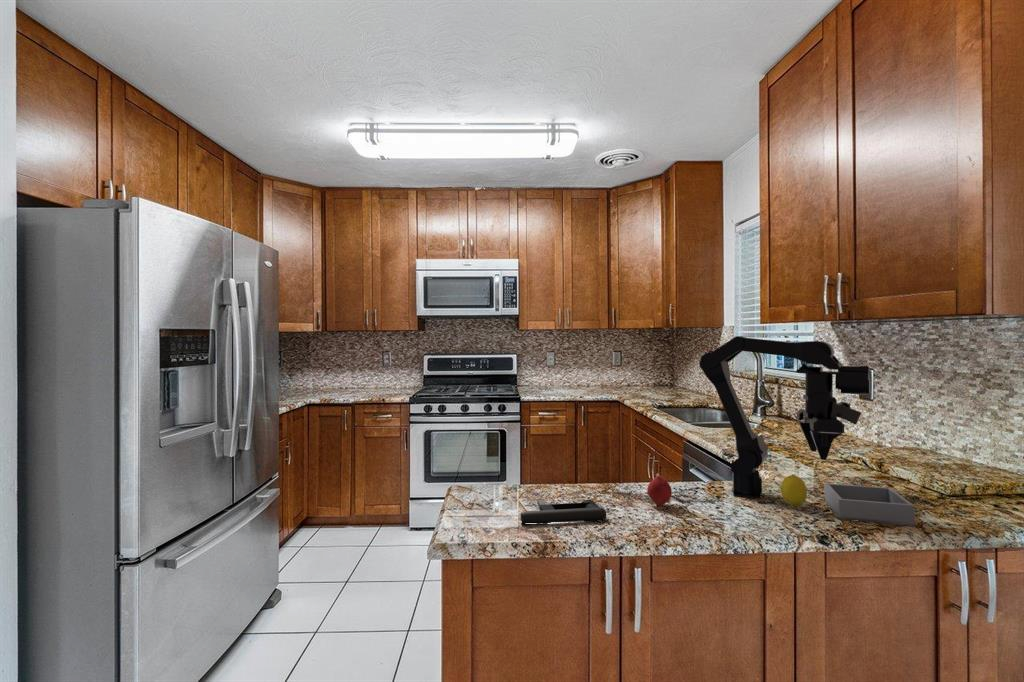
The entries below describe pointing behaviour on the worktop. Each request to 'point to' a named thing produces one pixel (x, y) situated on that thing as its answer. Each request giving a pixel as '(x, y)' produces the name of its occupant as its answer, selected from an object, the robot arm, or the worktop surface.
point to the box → (869, 504)
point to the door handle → (564, 512)
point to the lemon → (793, 490)
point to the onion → (659, 490)
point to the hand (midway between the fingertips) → (818, 455)
